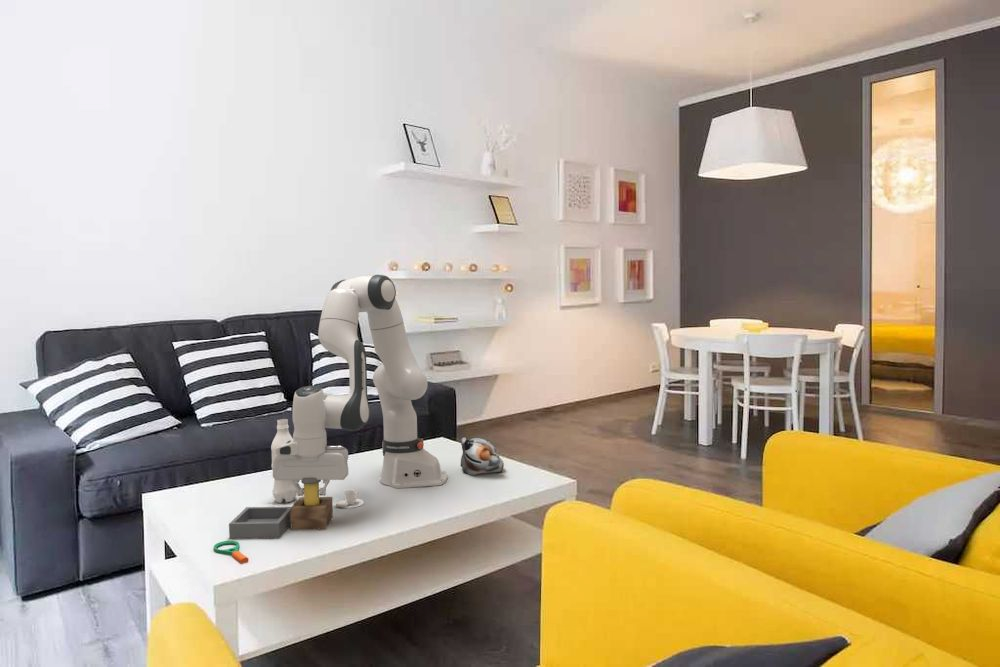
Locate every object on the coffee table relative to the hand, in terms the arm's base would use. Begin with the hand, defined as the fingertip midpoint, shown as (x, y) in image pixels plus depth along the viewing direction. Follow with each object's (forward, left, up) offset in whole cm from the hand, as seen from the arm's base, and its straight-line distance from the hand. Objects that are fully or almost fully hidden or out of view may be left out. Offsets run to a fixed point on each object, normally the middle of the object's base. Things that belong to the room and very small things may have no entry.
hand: (311, 494), depth 190 cm
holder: (0, 0, -8) cm, 8 cm away
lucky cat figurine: (-47, -48, -8) cm, 68 cm away
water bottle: (+14, -20, -8) cm, 26 cm away
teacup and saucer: (-4, -17, -9) cm, 20 cm away
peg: (0, 0, -8) cm, 8 cm away
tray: (+13, +4, -8) cm, 15 cm away
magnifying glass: (+15, +20, -9) cm, 26 cm away
